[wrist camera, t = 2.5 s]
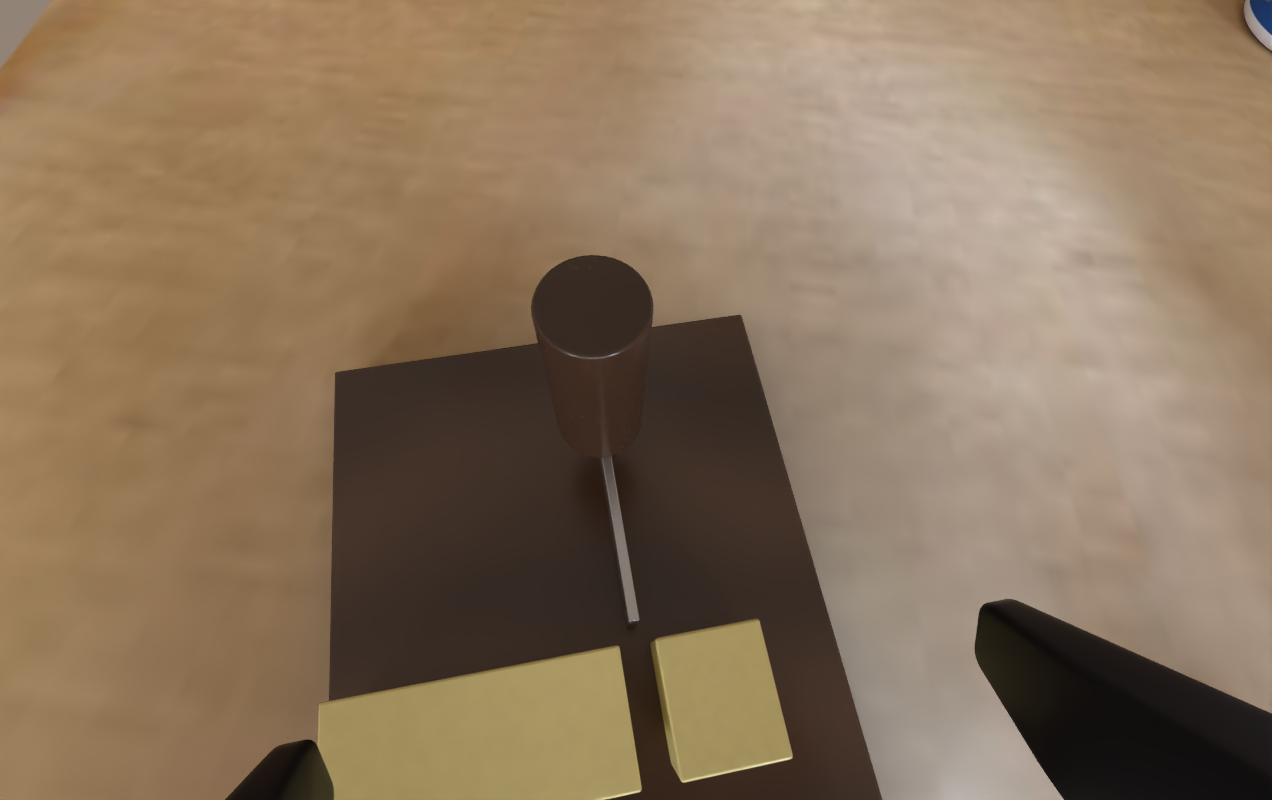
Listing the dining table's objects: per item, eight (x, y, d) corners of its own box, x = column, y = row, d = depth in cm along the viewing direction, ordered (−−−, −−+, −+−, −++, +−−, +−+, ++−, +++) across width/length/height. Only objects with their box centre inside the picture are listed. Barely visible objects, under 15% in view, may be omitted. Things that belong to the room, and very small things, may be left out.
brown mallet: (671, 620, 19) (717, 580, 11) (591, 635, 19) (569, 608, 10) (631, 413, 22) (641, 246, 14) (561, 424, 22) (524, 262, 13)
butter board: (897, 906, 18) (920, 926, 17) (345, 1044, 17) (320, 1077, 15) (734, 332, 26) (741, 313, 25) (350, 388, 24) (334, 371, 23)
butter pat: (767, 745, 18) (794, 759, 16) (671, 766, 18) (680, 784, 15) (739, 624, 20) (759, 617, 17) (649, 642, 20) (654, 638, 17)
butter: (638, 773, 18) (642, 792, 15) (361, 832, 17) (313, 864, 14) (618, 648, 19) (619, 644, 17) (361, 698, 19) (317, 703, 16)
